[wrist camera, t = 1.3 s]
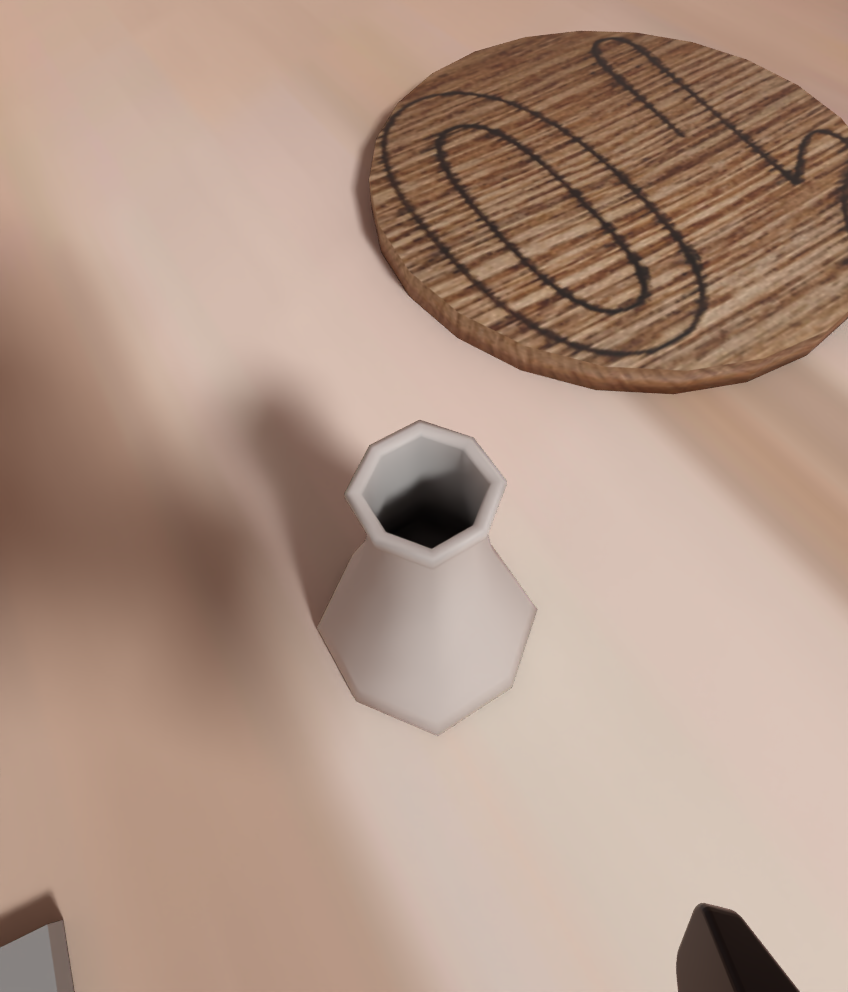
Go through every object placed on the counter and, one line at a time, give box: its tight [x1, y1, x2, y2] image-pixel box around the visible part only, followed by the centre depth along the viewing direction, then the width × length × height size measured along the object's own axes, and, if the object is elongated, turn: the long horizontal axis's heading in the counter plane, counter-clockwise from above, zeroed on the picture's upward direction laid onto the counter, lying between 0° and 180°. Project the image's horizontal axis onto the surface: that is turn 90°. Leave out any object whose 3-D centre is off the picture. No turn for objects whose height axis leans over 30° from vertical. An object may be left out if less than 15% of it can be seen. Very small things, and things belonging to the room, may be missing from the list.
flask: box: [317, 420, 537, 736], centre depth 17 cm, size 7×7×10 cm
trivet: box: [369, 31, 848, 394], centre depth 31 cm, size 25×25×2 cm
